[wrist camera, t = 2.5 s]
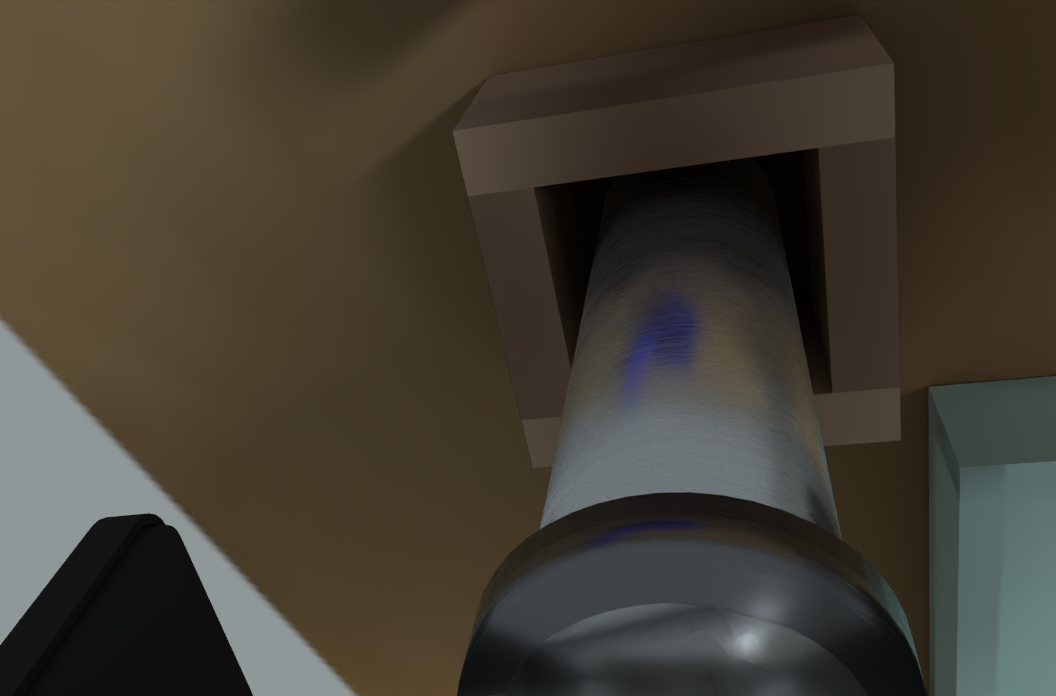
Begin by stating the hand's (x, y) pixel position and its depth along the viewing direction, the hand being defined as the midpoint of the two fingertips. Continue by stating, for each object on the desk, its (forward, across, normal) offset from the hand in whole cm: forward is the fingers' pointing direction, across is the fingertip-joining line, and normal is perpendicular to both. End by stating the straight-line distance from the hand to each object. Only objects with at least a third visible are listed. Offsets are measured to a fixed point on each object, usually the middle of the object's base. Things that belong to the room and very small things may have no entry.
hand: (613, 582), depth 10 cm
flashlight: (+9, -1, 0) cm, 9 cm away
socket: (+9, -1, 0) cm, 9 cm away
